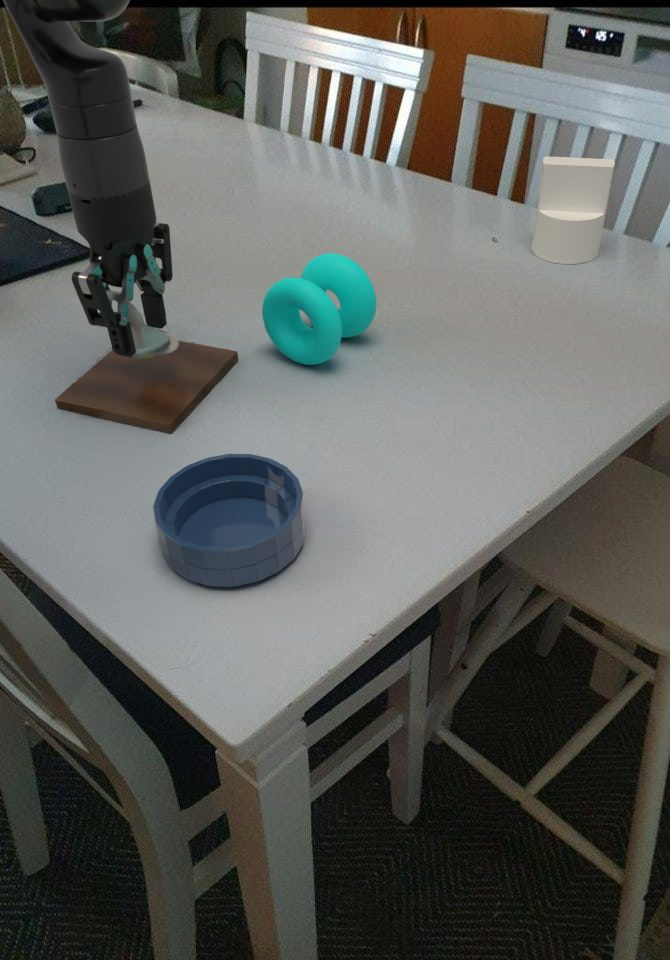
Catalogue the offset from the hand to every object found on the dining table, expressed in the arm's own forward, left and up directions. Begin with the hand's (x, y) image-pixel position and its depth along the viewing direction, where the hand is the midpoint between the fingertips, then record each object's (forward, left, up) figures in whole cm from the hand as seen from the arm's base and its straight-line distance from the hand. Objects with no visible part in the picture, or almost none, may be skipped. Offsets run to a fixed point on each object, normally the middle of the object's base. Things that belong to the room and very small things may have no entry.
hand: (141, 339), depth 85 cm
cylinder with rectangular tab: (+48, -37, -6) cm, 61 cm away
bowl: (-19, -20, -6) cm, 28 cm away
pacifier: (+1, 0, -2) cm, 2 cm away
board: (0, 0, -6) cm, 6 cm away
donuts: (+13, -15, -6) cm, 21 cm away
